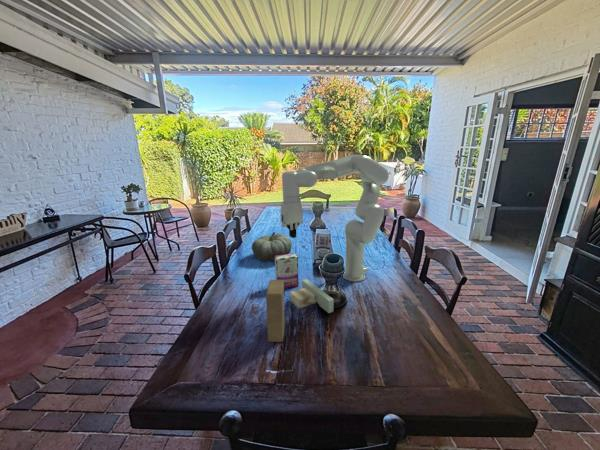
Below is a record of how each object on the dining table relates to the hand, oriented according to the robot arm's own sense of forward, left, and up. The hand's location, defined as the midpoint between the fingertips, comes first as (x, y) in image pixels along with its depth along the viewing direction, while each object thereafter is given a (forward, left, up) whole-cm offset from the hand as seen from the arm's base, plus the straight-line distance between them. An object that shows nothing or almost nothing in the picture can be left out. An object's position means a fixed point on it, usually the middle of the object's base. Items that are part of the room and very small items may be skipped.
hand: (293, 237), depth 132 cm
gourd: (-8, -42, -28) cm, 51 cm away
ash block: (+2, +12, -28) cm, 31 cm away
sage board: (-4, +15, -28) cm, 32 cm away
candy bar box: (+1, -5, -28) cm, 28 cm away
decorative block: (+22, +26, -28) cm, 44 cm away
